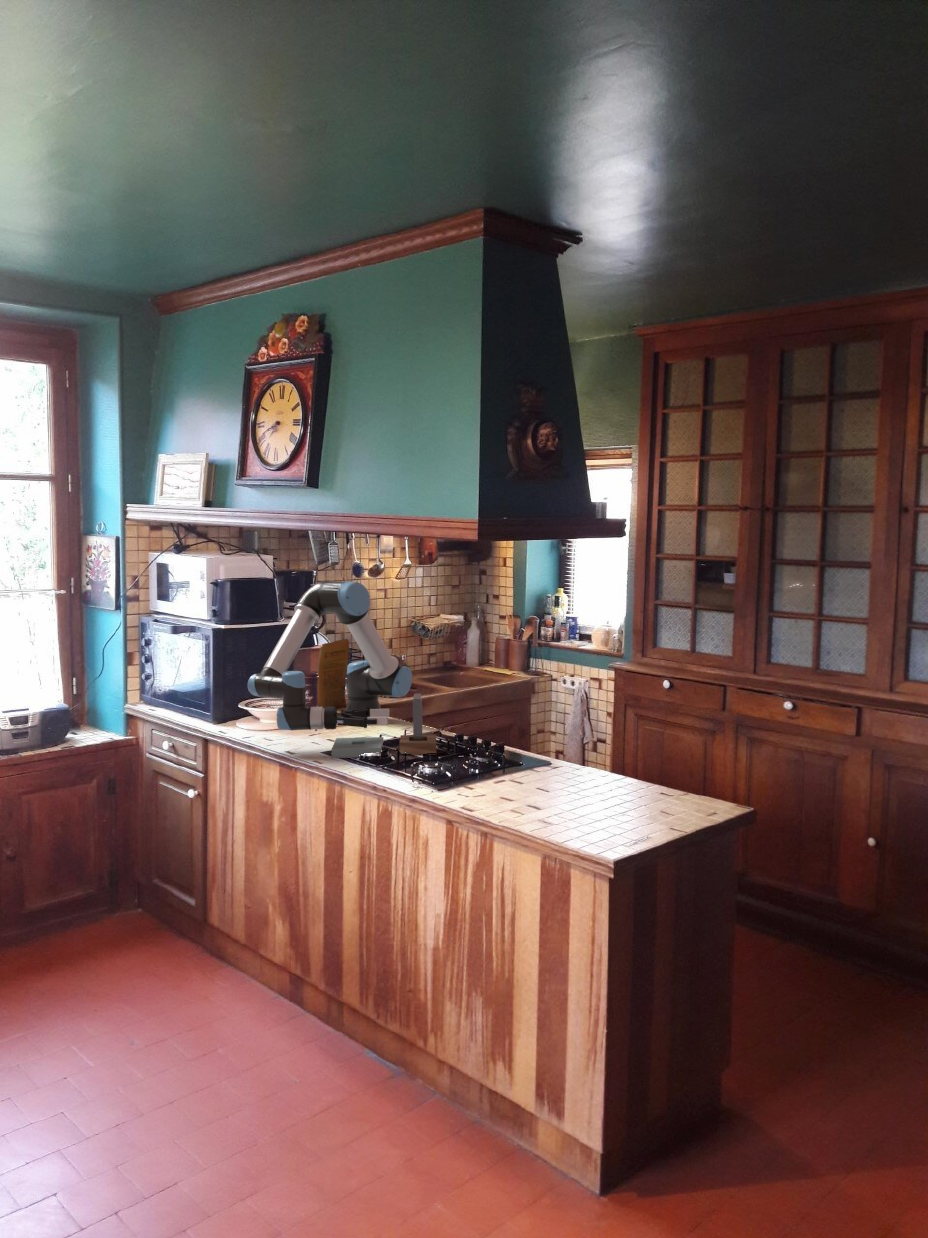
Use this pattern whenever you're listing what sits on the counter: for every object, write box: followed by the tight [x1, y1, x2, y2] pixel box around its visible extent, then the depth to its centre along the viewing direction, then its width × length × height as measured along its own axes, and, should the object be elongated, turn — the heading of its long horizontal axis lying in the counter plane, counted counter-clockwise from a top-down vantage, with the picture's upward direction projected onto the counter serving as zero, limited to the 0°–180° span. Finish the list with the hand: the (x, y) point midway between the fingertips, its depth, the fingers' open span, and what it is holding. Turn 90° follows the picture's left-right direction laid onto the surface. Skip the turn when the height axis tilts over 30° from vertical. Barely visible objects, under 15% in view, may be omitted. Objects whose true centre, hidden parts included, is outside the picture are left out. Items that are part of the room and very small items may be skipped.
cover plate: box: [331, 736, 385, 759], centre depth 332 cm, size 16×16×3 cm
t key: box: [412, 692, 424, 741], centre depth 331 cm, size 10×3×18 cm, turn 2°
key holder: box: [399, 734, 437, 754], centre depth 332 cm, size 12×12×4 cm
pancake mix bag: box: [317, 638, 350, 709], centre depth 408 cm, size 7×19×28 cm, turn 142°
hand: (388, 716), depth 331 cm, fingers open, 13 cm apart
